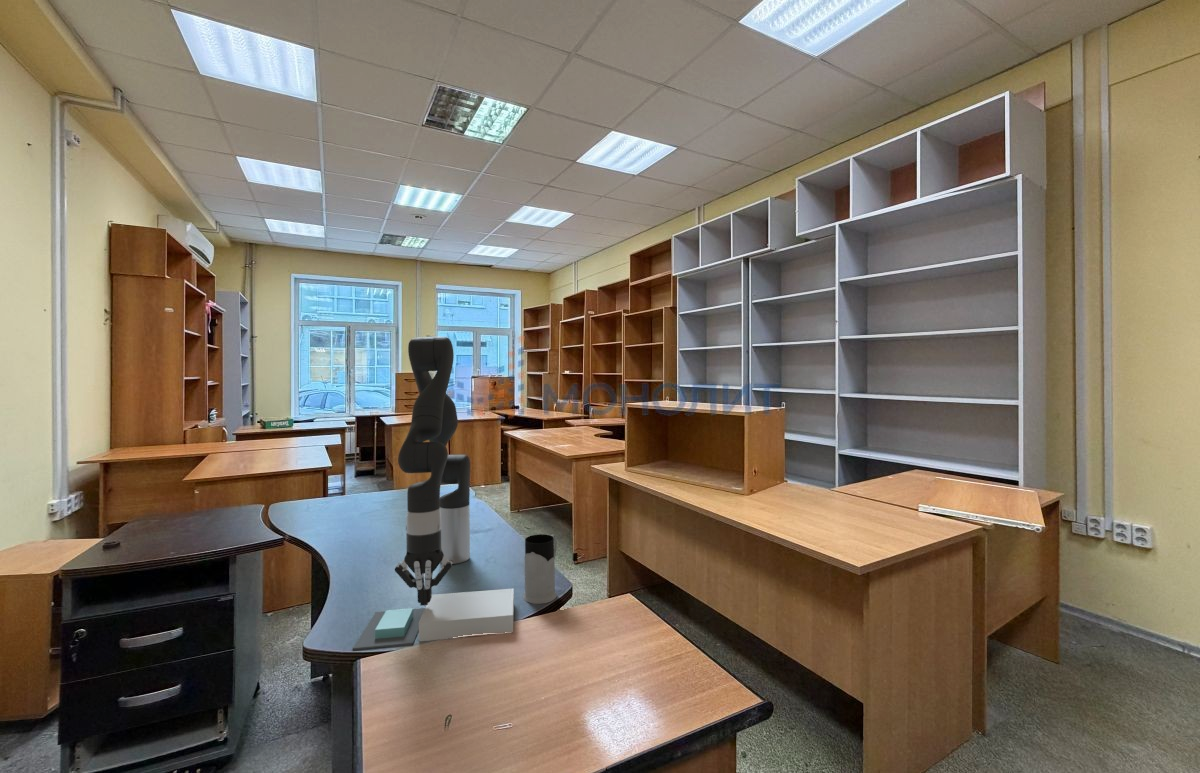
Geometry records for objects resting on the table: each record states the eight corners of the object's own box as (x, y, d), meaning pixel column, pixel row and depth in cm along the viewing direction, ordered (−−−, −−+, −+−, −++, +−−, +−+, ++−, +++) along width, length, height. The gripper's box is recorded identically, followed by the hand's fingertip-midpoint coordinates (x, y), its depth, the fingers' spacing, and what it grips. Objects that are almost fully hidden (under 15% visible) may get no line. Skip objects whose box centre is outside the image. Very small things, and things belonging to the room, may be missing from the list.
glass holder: (516, 600, 121) (516, 542, 121) (542, 579, 134) (541, 526, 134) (547, 605, 118) (547, 546, 118) (570, 583, 131) (570, 529, 131)
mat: (375, 613, 115) (375, 612, 115) (427, 609, 117) (427, 607, 117) (352, 650, 99) (352, 648, 99) (412, 644, 101) (412, 642, 101)
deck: (430, 611, 116) (430, 594, 116) (513, 604, 119) (513, 588, 119) (418, 641, 102) (418, 623, 102) (512, 632, 105) (512, 615, 105)
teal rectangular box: (413, 608, 112) (413, 616, 112) (386, 610, 111) (386, 618, 111) (404, 627, 103) (404, 636, 103) (375, 629, 102) (375, 639, 102)
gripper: (455, 522, 114) (456, 594, 114) (397, 525, 111) (398, 599, 111) (451, 531, 106) (452, 608, 106) (389, 535, 104) (389, 614, 104)
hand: (424, 603), depth 109 cm, fingers closed
